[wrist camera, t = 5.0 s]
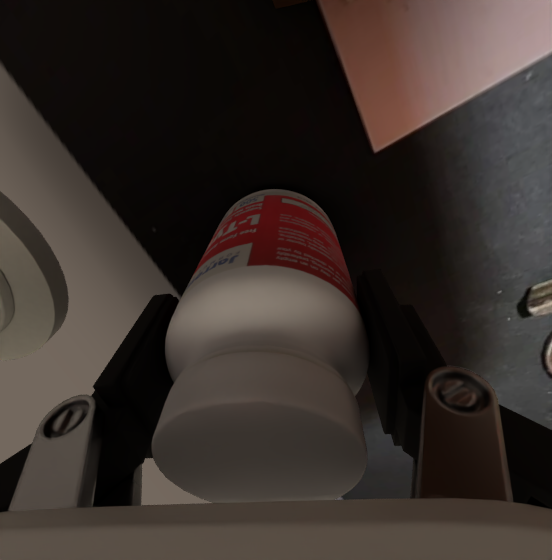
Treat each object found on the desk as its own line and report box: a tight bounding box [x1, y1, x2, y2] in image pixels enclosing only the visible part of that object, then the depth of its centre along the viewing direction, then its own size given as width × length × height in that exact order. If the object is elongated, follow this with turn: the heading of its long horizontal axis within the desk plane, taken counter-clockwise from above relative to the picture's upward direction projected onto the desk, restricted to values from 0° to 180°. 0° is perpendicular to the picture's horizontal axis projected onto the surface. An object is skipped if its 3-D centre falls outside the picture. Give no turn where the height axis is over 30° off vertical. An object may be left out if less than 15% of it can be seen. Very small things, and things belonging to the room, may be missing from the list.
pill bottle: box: [152, 189, 370, 503], centre depth 11 cm, size 6×6×11 cm
